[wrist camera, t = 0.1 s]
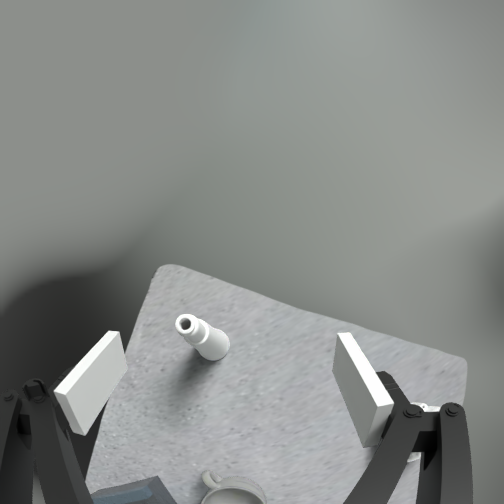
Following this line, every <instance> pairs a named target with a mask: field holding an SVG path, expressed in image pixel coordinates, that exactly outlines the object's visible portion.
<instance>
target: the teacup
mask: <svg viewBox="0 0 504 504" xmlns="http://www.w3.org/2000/svg"><path fill="white" fill-rule="evenodd" d="M201 477H202V480H203V482H204V483H205V484H206V486H207V487H209V488H210V489H209V491H208V492H207V494H206V496H205V497H204V498H203V500H202V502H201V504H267V503H266V496H265V493H264V491H263V490H262V488H261V487H260V486H259V485H258V484H256V483H255V482H253V481H252V480H249V479H246V478H242V477H228V478H222V477H220V476H219V475H217V474H216V473H215V472H213V471H211V470H206V471H204V472H203V473H202V474H201Z"/></svg>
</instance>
